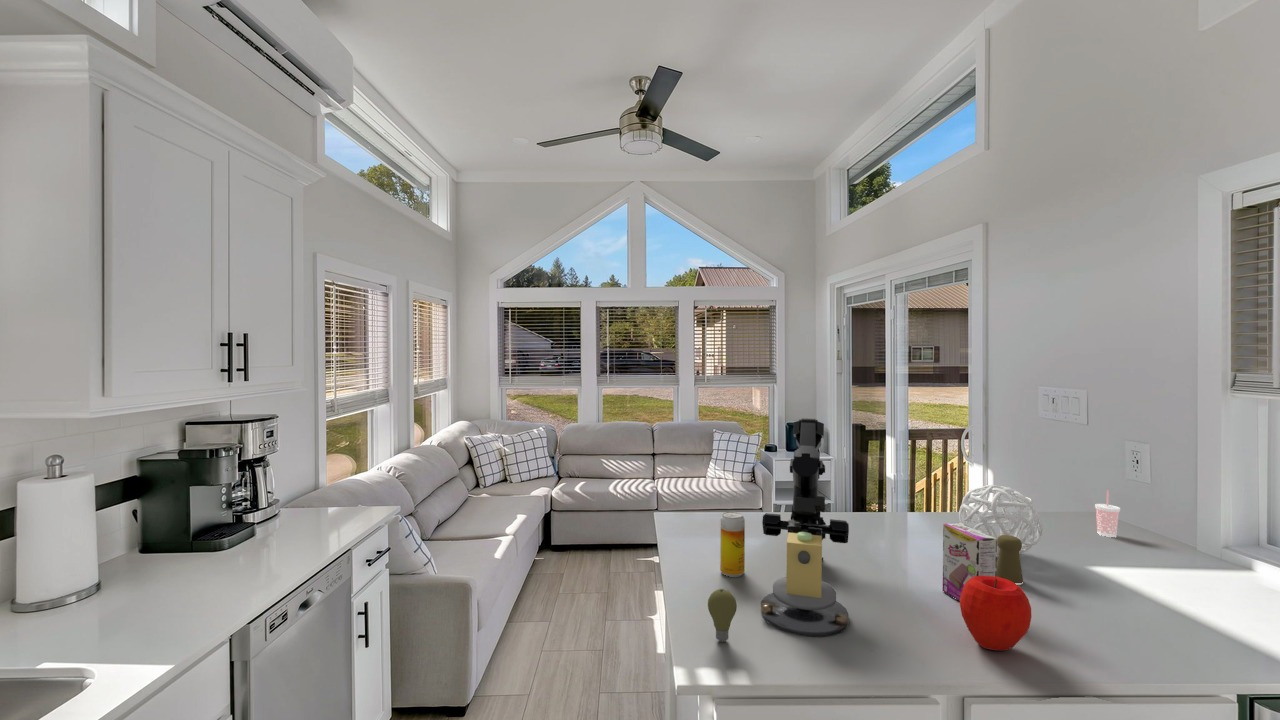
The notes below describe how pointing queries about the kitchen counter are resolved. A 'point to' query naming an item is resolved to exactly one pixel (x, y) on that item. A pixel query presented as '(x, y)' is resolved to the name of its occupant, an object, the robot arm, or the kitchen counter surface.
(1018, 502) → the decorative ball
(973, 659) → the kitchen counter surface
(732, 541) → the beer can
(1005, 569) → the brown rounded upright piece
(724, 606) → the light bulb
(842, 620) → the base
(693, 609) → the kitchen counter surface
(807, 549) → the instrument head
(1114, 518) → the beverage cup
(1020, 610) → the apple
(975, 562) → the candy bar box
